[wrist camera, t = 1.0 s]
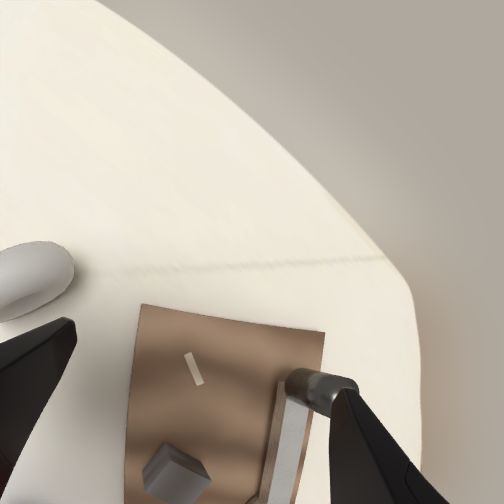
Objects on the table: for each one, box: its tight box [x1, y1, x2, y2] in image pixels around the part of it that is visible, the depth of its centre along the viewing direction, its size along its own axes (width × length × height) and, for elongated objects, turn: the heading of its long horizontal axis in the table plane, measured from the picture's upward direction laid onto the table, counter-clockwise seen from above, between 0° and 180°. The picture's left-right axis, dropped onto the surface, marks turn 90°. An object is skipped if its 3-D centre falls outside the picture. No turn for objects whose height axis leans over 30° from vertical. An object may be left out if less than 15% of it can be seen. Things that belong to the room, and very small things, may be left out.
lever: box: [247, 368, 359, 504], centre depth 22 cm, size 19×4×9 cm, turn 172°
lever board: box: [124, 304, 325, 504], centre depth 23 cm, size 26×18×5 cm
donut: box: [0, 241, 74, 323], centre depth 18 cm, size 10×3×10 cm, turn 119°
